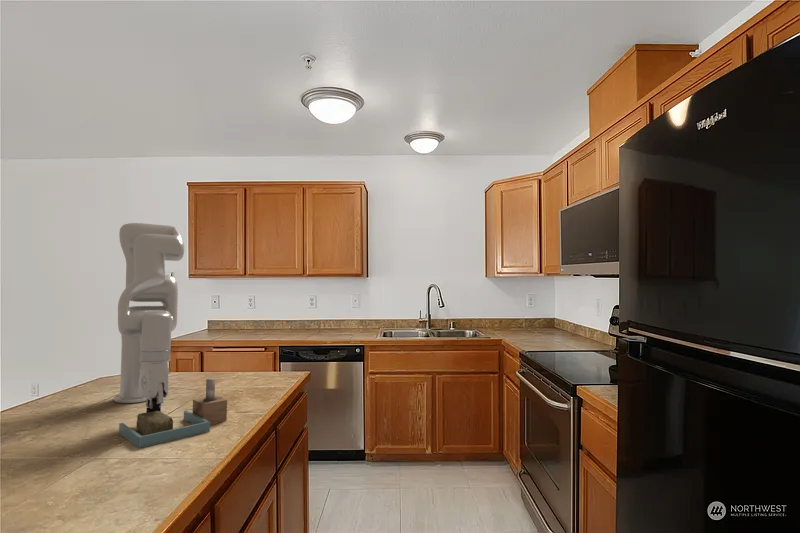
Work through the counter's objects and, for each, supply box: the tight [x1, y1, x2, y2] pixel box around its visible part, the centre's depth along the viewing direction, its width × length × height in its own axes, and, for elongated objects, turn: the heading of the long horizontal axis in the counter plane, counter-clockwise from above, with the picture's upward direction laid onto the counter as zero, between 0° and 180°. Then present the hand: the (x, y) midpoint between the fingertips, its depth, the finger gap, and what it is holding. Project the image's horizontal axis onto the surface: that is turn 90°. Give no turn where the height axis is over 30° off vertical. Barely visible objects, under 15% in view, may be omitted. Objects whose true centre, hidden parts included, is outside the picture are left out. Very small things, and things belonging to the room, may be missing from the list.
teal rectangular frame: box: [118, 410, 211, 449], centre depth 122 cm, size 15×18×2 cm
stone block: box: [135, 411, 174, 436], centre depth 121 cm, size 6×12×5 cm, turn 49°
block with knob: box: [192, 377, 228, 425], centre depth 133 cm, size 7×7×12 cm
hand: (153, 421), depth 127 cm, fingers closed
